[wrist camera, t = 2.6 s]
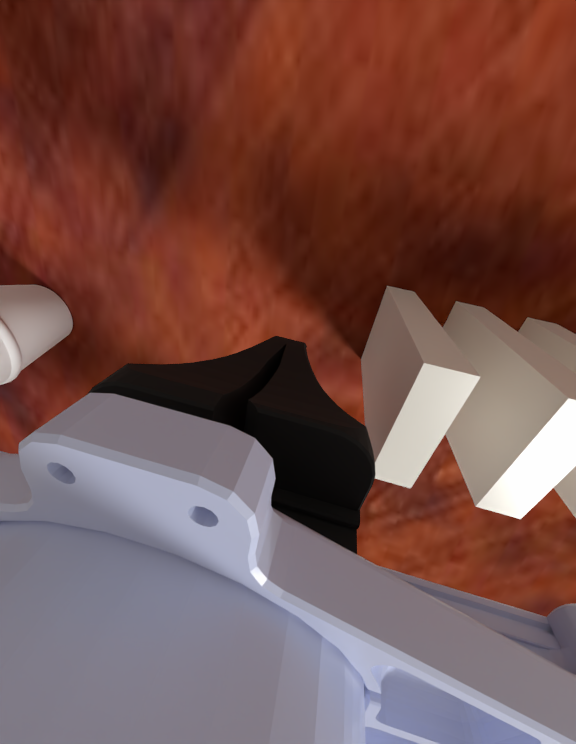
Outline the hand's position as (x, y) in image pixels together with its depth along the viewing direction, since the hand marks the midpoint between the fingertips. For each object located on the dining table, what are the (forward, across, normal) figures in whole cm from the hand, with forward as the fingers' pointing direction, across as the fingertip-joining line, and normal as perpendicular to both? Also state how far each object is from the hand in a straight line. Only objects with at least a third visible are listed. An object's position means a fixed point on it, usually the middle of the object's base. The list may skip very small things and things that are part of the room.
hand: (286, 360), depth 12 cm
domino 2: (+7, -9, 0) cm, 12 cm away
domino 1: (+7, -5, 0) cm, 9 cm away
